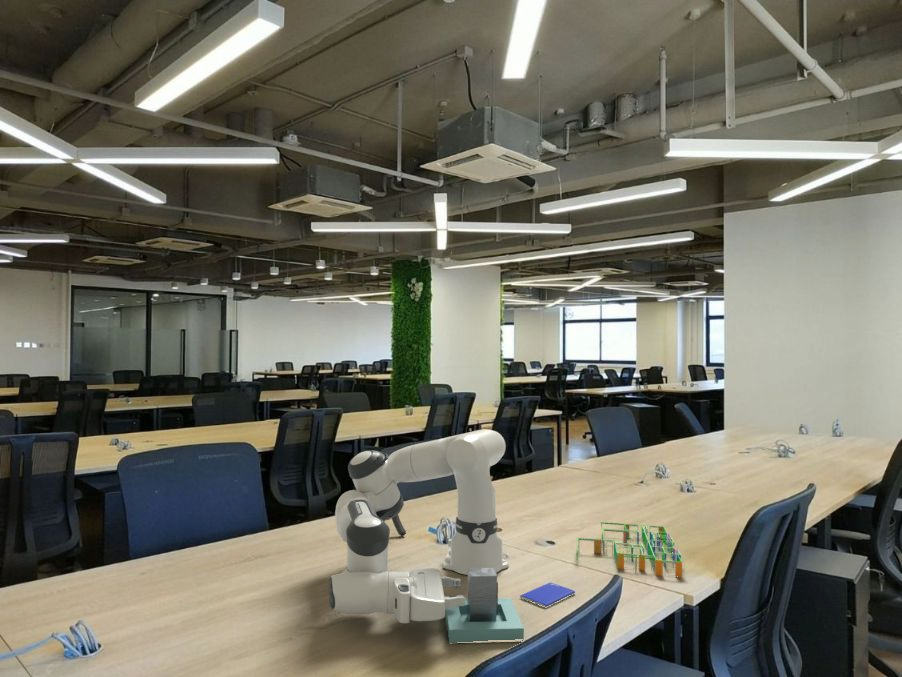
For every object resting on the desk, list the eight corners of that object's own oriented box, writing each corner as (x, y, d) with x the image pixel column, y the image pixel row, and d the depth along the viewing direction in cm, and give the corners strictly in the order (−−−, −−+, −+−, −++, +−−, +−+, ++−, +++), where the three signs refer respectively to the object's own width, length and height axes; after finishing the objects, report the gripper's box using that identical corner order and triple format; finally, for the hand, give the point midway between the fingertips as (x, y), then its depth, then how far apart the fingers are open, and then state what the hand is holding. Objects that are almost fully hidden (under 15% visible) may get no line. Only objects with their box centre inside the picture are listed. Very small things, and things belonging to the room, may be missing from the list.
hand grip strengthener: (402, 538, 201) (403, 492, 202) (375, 530, 209) (375, 487, 209) (407, 536, 203) (407, 491, 204) (379, 529, 211) (380, 485, 211)
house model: (685, 579, 169) (685, 562, 170) (576, 570, 175) (577, 553, 175) (666, 541, 204) (666, 526, 204) (576, 534, 210) (576, 520, 210)
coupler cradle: (444, 611, 145) (444, 599, 145) (510, 610, 147) (510, 597, 147) (449, 644, 129) (449, 629, 130) (523, 642, 131) (523, 628, 131)
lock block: (467, 616, 140) (467, 568, 141) (494, 615, 141) (495, 567, 141) (469, 626, 135) (470, 576, 136) (497, 625, 136) (498, 575, 136)
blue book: (549, 581, 163) (519, 594, 154) (575, 590, 157) (546, 604, 148) (549, 587, 163) (519, 600, 154) (575, 596, 157) (546, 611, 148)
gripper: (401, 587, 147) (458, 587, 148) (401, 627, 126) (467, 626, 127) (401, 561, 147) (459, 561, 148) (401, 596, 126) (468, 596, 128)
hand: (462, 591), depth 137 cm, fingers open, 8 cm apart
